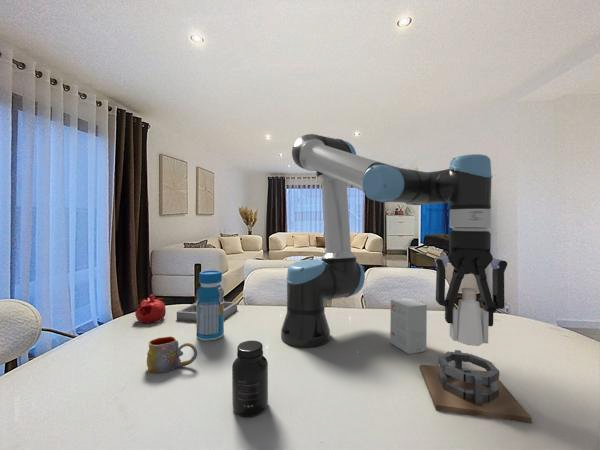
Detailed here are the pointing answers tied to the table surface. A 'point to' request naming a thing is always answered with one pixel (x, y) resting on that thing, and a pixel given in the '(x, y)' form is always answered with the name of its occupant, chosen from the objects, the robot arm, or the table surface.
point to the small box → (408, 325)
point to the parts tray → (192, 316)
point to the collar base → (448, 402)
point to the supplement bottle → (249, 380)
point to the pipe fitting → (194, 308)
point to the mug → (166, 355)
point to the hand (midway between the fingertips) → (468, 339)
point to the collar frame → (469, 377)
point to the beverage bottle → (210, 306)
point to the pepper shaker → (469, 319)
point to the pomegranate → (150, 310)
